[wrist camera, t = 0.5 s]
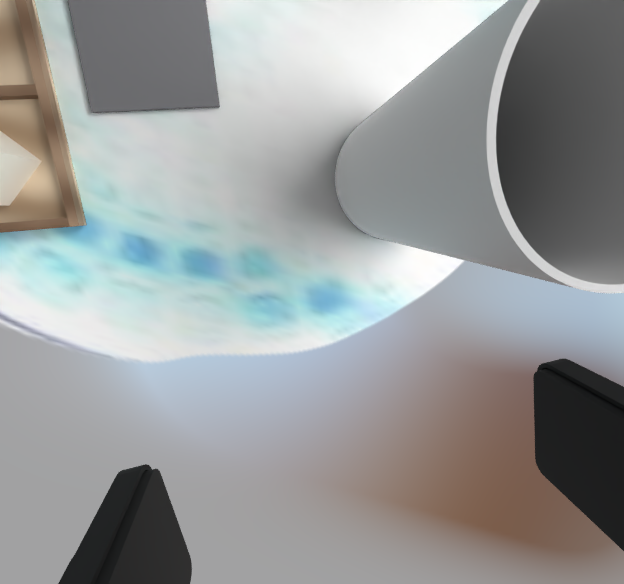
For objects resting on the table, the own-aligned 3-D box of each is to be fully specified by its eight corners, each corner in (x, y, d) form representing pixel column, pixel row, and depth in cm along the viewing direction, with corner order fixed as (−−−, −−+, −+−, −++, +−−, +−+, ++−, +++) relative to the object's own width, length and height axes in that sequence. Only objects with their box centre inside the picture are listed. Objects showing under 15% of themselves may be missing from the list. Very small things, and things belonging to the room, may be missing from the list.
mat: (62, -35, 29) (59, -38, 28) (201, -35, 30) (200, -38, 30) (93, 112, 31) (91, 111, 31) (219, 106, 33) (219, 105, 32)
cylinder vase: (311, 150, 35) (430, 21, 11) (421, 89, 35) (780, -175, 11) (366, 260, 38) (549, 349, 14) (465, 203, 38) (814, 195, 14)
